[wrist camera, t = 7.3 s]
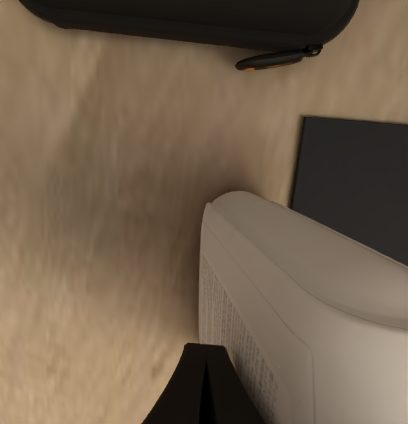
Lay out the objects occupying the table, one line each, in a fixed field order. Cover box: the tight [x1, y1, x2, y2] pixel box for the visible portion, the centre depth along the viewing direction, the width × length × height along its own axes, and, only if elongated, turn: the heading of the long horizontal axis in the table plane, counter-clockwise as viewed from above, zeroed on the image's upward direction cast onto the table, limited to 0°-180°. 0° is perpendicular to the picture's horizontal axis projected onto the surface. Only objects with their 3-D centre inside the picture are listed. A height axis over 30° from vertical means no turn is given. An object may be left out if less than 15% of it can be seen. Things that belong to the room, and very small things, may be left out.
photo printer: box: [199, 191, 408, 424], centre depth 12 cm, size 10×4×12 cm, turn 179°
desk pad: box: [290, 117, 408, 266], centre depth 18 cm, size 12×20×1 cm, turn 175°
